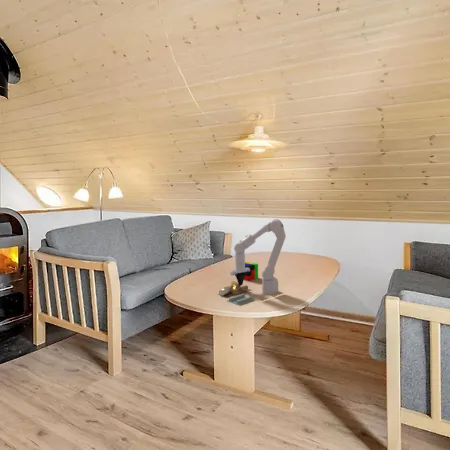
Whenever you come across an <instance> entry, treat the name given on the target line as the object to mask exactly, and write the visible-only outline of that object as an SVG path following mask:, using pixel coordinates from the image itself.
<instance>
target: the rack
mask: <svg viewBox="0 0 450 450" xmlns="http://www.w3.org/2000/svg"><path fill="white" fill-rule="evenodd" d="M254 301H255V299H254V298H253V296H251V295H250V296H246V294H245V293H242V294H239V295H236V296H232V297H229V298H228V300H226V302H228V303H231V304H234V305H235V306H236V305H237V306H242V305H245V304H248V303H250V302H254Z"/></svg>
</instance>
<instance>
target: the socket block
mask: <svg viewBox="0 0 450 450" xmlns="http://www.w3.org/2000/svg"><path fill="white" fill-rule="evenodd" d="M229 287H231V285H227V286H224V287H223V289H226V288H229ZM251 291H253V289H249V285H246V284H245V285H239V284H238V288H235V289H232V290H231V292H232V293H231V294H227V295H224V296H223V298H224V297H225V298H226V299H229V298H231V297H234V296H237V295H241V294H245V293H249V292H251ZM217 296H220V294H219V293H217Z"/></svg>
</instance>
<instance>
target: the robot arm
mask: <svg viewBox="0 0 450 450" xmlns="http://www.w3.org/2000/svg"><path fill="white" fill-rule="evenodd" d="M270 232H272V233H273V234H274V236H275V237H276V240H275V242H274V245H273V248H272V251H271V253H270V256H269V260H268V261H267V265H266V266H265V267H264V269H263V271H262V272H261V274H262V275H261V276H262V279H261V280H262V281H261V282H262V284H261V285H262V287H261V289H262V291H261V293H263V294H264V295H273V294H276V293H278V292H279V280H278V279H277V277H274V276H275V267H276V264H277V262H278V259H279V256H280V253H281V251H282V248H283V245H284V242H285V240H286V231H285V229H284V224H283V223H282V221H281V220H280V219H273V220H272V221H270V222H268V223H267V224H264V225H263V226H262V227H261V228H260V229H258V230H257V231H256V232H255V233H253V234H246V236H245V237H244V238H243V239H242V240H239V242H238V243H236V244H235V245H234V248H233V250H234V252H235V256H234V258H235V262H234V263H235V268H234V270H232V271H230V272H229V274H230V276H233V277H234V276H235V278H236V280H237V283H238V284H239V285H241V286H243V283H244V281H245V280H244V278H245V276H246V273H244V272H247V271H250V268H245V262H246V255H245V250H246V249H248V248H250V247H251V246H252V245H254V244H255V243H256V240H257V239H258V238H260V237H261V236H262V235H264V234H266V233H270Z"/></svg>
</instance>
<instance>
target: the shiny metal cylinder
mask: <svg viewBox="0 0 450 450" xmlns="http://www.w3.org/2000/svg"><path fill="white" fill-rule="evenodd" d="M232 289H233V288H232V287H229V288H226V289H224V288H223V289H219V291H218V294H220V295H219V296H221V297H224V295H227V294H231V293H232V292H231V290H232Z"/></svg>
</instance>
